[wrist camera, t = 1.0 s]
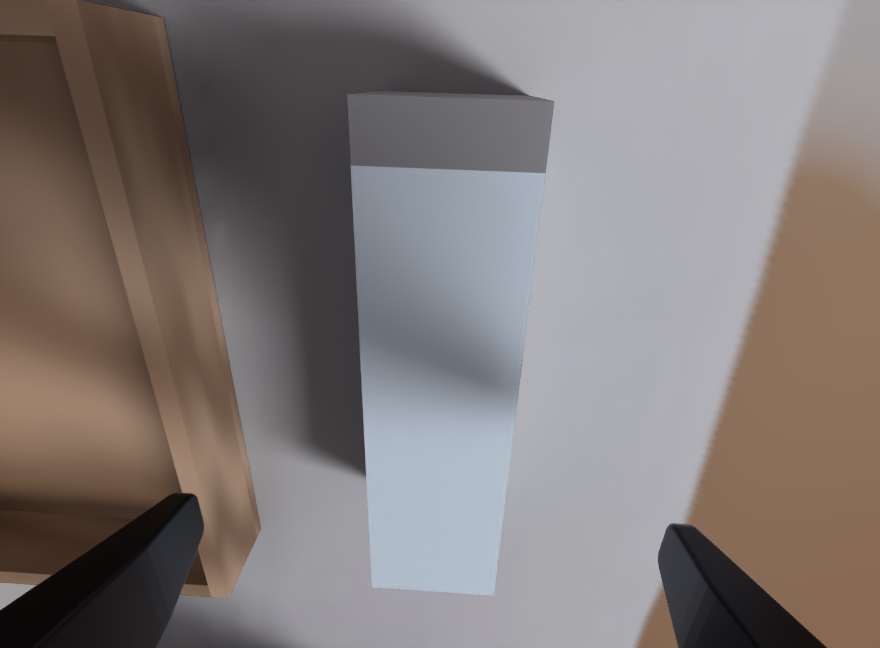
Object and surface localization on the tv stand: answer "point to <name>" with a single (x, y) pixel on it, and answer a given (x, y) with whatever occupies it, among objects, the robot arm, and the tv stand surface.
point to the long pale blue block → (442, 320)
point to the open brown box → (107, 301)
